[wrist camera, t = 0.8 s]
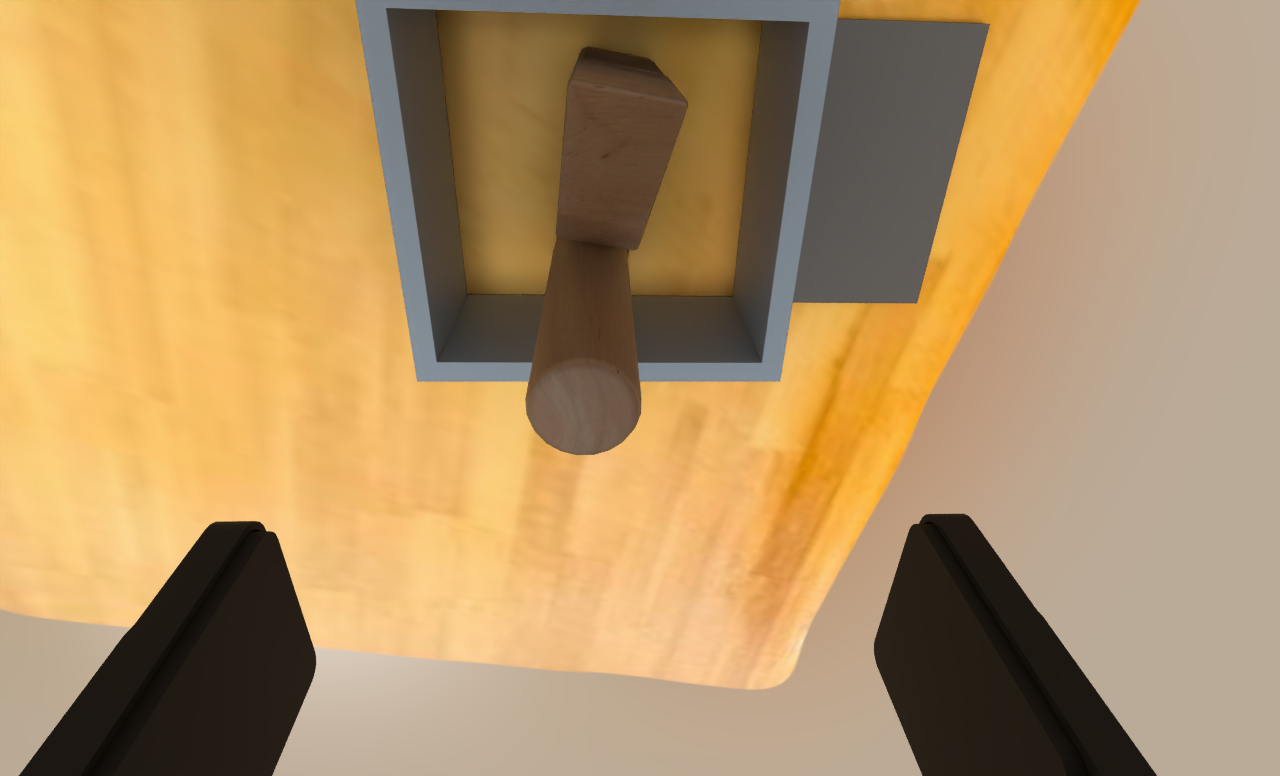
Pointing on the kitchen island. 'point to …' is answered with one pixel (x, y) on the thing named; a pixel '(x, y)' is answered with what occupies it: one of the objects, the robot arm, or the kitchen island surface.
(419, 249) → the box
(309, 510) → the kitchen island surface
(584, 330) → the brown piece
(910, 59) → the place mat
